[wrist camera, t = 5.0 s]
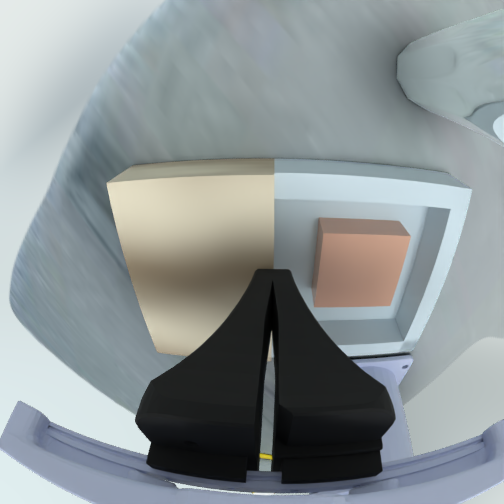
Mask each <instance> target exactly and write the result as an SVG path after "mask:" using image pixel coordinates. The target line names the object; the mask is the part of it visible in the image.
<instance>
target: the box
mask: <svg viewBox="0 0 504 504" xmlns="http://www.w3.org/2000/svg"><path fill="white" fill-rule="evenodd" d="M471 193H472V189H471V188H470V187H468V186H467V185H465V184H464V183H463V182H461V181H460V180H458V179H457V178H455V177H454V176H452V175H451V174H449V173H445V172H439V171H432V170H425V169H418V168H411V167H402V166H394V165H384V164H374V163H363V162H350V161H334V160H314V159H276V158H274V269H289V270H290V271H291V272H292V276H293V278H294V281H295V283H296V285H297V288H298V290H299V292H300V294H301V296H302V297H303V299H304V301H305V303H306V304H307V306H308V308H309V309H310V311H311V312H312V314H313V315H314V317H315V318H316V320H317V321H318V323H319V324H320V326H321V327H322V328H323V329H324V331H325V332H326V333H327V334H328V336H329V337H330V338H331V339H332V340H333V341H334V343H335V344H336V345H337V346H338V347H339V348H340V349H341V350H342V351H343V352H344V353H345V354H346V355H347V356H359V355H374V354H387V353H398V352H407V351H413V349H414V347H415V345H416V343H417V342H418V340H419V338H420V336H421V334H422V332H423V329H424V327H425V325H426V323H427V321H428V319H429V317H430V315H431V312H432V310H433V308H434V306H435V303H436V301H437V299H438V296H439V294H440V291H441V289H442V286H443V284H444V281H445V279H446V276H447V274H448V271H449V268H450V265H451V262H452V260H453V257H454V254H455V251H456V248H457V245H458V241H459V238H460V235H461V232H462V228H463V225H464V221H465V217H466V214H467V210H468V206H469V202H470V198H471ZM319 217H322V218H350V219H373V220H392V221H400V222H401V224H402V225H403V226H404V228H405V229H406V230H407V232H408V233H409V234H410V236H411V238H410V242H409V246H408V250H407V253H406V257H405V261H404V264H403V268H402V271H401V274H400V278H399V281H398V284H397V287H396V290H395V293H394V296H393V299H392V302H391V305H390V306H376V307H314V304H313V296H312V289H311V286H312V278H313V270H314V261H315V251H316V241H317V231H318V220H319ZM271 357H274V353H273V340H272V351H271Z"/></svg>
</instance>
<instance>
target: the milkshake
mask: <svg viewBox="0 0 504 504" xmlns="http://www.w3.org/2000/svg"><path fill="white" fill-rule="evenodd" d="M397 80H398V82H399V83H400V85H401V87H402V89H403V91H404V92H405V94H406V96H407V98H408V99H409V100H411V101H412V102H414V103H416V104H417V105H419V106H420V107H422V108H424V109H425V110H427V111H429V112H432V113H434V114H437V115H439V116H441V117H444V118H446V119H448V120H451V121H453V122H455V123H457V124H460V125H462V126H464V127H466V128H468V129H470V130H472V131H474V132H476V133H478V134H480V135H482V136H484V137H486V138H488V139H490V140H492V141H494V142H495V143H497V144H498V145H500V146H502V147H503V148H504V8H502V9H499V10H496V11H493V12H491V13H488V14H485V15H482V16H479V17H476V18H474V19H471V20H468V21H465V22H461V23H459V24H456V25H453V26H450V27H447V28H445V29H442V30H440V31H437V32H434V33H432V34H429V35H427V36H425V37H422V38H420V39H418V40H415V41H413V42H411V43H409V44H408V45H407V47H406V48H405V49H404V50H403V51H402V52H401V53H400V54H399V56H398V57H397Z"/></svg>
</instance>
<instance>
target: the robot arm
mask: <svg viewBox="0 0 504 504" xmlns="http://www.w3.org/2000/svg"><path fill="white" fill-rule="evenodd" d="M271 331H272V340H273V353H274V367H275V405H274V427H273V447H272V464H271V472H270V471H259V461H260V445H261V428H262V411H263V393H264V380H265V372H266V365H267V359H268V352H269V345H270V338H271ZM412 363H413V358H412V356H411V355H404V356H395V357H384V358H371V359H356V360H351V359H350V358H349V357H348V356H347V355H346V354H345V353H344V352H343V351H342V350H341V349H340V348H339V347H338V346H337V345H336V344H335V343H334V341H333V340H332V339H331V338H330V337H329V336H328V334H327V333H326V332H325V331H324V329H323V328H322V327H321V326H320V324H319V323H318V321H317V320H316V318H315V317H314V315H313V314H312V312H311V311H310V309H309V308H308V306H307V304H306V303H305V301H304V299H303V297H302V296H301V294H300V292H299V290H298V288H297V285H296V283H295V281H294V278H293V276H292V272H291V271H290V270H289V269H257V270H256V271H255V272H254V275H253V277H252V279H251V281H250V283H249V285H248V287H247V289H246V291H245V292H244V294H243V296H242V297H241V299H240V300H239V302H238V303H237V305H236V306H235V308H234V309H233V310H232V312H231V313H230V314H229V316H228V317H227V318H226V319H225V321H224V322H223V323H222V324H221V325H220V327H219V328H218V329H217V330H216V331H215V332H214V333H213V334H212V335H211V336H210V337H209V338H208V339H207V340H206V341H205V342H204V343H203V344H202V345H201V346H200V347H198V348H197V349H196V350H195V351H194V352H192V353H191V354H190V355H189V356H187V357H186V358H185V359H184V360H182V361H181V362H180V363H178V364H177V365H175V366H174V367H173V368H171V369H169V370H168V371H166V372H165V373H163V374H161V375H160V376H158V377H157V378H155V379H153V380H151V382H150V384H149V385H148V387H147V389H146V391H145V393H144V395H143V397H142V400H141V403H140V406H139V409H138V412H137V415H136V418H135V422H136V424H137V425H138V428H139V429H140V430H141V431H142V433H144V435H145V436H146V437H147V438H148V439H149V441H151V445H150V449H149V453H148V455H144V454H140V453H136V452H133V451H129V450H126V449H122V448H119V447H116V446H112V445H109V444H106V443H103V442H100V441H97V440H94V439H92V438H89V437H86V436H83V435H81V434H79V433H76V432H74V431H71V430H69V429H66V428H64V427H62V426H59V425H57V424H55V423H53V422H50V421H49V419H48V418H47V417H46V416H45V415H44V414H42V413H41V412H40V411H38V410H37V409H35V408H33V407H31V406H29V405H27V404H25V403H23V402H21V401H18V402H17V405H16V406H15V408H14V410H13V412H12V414H11V416H10V419H9V421H8V423H7V425H6V427H5V429H4V432H3V434H2V436H1V438H0V450H2V451H3V452H5V453H6V454H7V455H9V456H10V457H11V458H13V459H15V460H16V461H17V462H19V463H20V464H22V465H23V466H25V467H26V468H28V469H29V470H31V471H33V472H34V473H36V474H38V475H39V476H40V477H42V478H44V479H46V480H47V481H49V482H51V483H53V484H54V485H56V486H58V487H60V488H62V489H64V490H65V491H67V492H70V493H71V494H74V495H75V496H77V497H80V498H82V499H84V500H86V501H88V502H90V503H93V504H461V503H463V502H465V501H467V500H469V499H472V498H473V497H476V496H477V495H479V494H481V493H483V492H485V491H487V490H489V489H491V488H493V487H494V486H496V485H498V484H500V483H502V482H503V481H504V419H503V420H501V421H499V422H497V423H495V424H493V425H492V426H490V427H489V428H488V429H487V430H485V431H484V432H483V434H481V435H479V436H476V437H474V438H471V439H468V440H466V441H463V442H460V443H457V444H454V445H451V446H449V447H445V448H442V449H439V450H435V451H432V452H428V453H425V454H421V455H417V456H414V455H413V450H412V445H411V440H410V435H409V430H408V425H407V421H406V416H405V412H404V408H403V404H402V400H401V396H400V392H399V388H398V386H399V384H400V382H401V381H402V379H403V378H404V376H405V374H406V373H407V371H408V369H409V368H410V366H411V364H412ZM165 480H166V481H165ZM168 481H171V482H175V483H180V484H186V485H192V486H197V487H204V488H211V489H219V490H228V491H240V492H254V493H309V495H251V494H250V495H249V494H237V493H227V492H218V491H210V490H200V489H192V488H191V489H190V488H189V489H188V488H185V489H184V488H182V489H178V488H177V487H176V485H175V484H174V483H171V482H168Z"/></svg>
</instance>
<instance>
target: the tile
mask: <svg viewBox="0 0 504 504" xmlns="http://www.w3.org/2000/svg"><path fill="white" fill-rule="evenodd" d="M410 238H411V236H410V234H409V233H408V232H407V230H406V229H405V228H404V226H403V225H402V224H401V222H400V221H392V220H373V219H350V218H322V217H319V220H318V231H317V241H316V251H315V261H314V270H313V278H312V286H311V289H312V296H313V304H314V307H376V306H390V305H391V302H392V299H393V296H394V293H395V290H396V287H397V284H398V281H399V278H400V274H401V271H402V268H403V264H404V261H405V257H406V253H407V250H408V246H409V242H410Z"/></svg>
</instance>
